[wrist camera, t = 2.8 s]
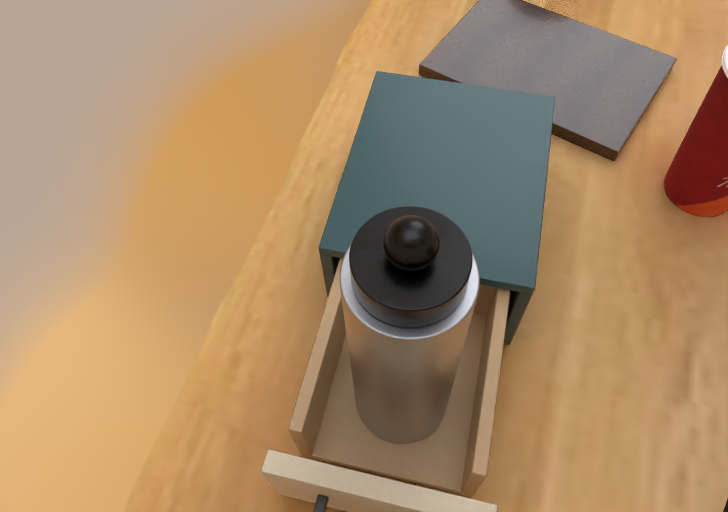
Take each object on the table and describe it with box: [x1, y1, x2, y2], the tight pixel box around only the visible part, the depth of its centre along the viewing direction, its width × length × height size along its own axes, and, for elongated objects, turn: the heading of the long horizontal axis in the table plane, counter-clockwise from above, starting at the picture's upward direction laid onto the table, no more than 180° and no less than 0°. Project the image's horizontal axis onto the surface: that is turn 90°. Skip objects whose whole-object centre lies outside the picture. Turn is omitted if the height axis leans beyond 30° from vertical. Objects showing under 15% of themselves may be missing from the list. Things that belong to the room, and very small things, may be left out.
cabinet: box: [319, 71, 555, 345], centre depth 45 cm, size 17×14×9 cm
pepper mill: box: [339, 206, 480, 444], centre depth 31 cm, size 6×6×20 cm
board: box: [419, 0, 677, 161], centre depth 58 cm, size 20×14×1 cm
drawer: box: [261, 258, 510, 512], centre depth 37 cm, size 20×12×7 cm, turn 166°
